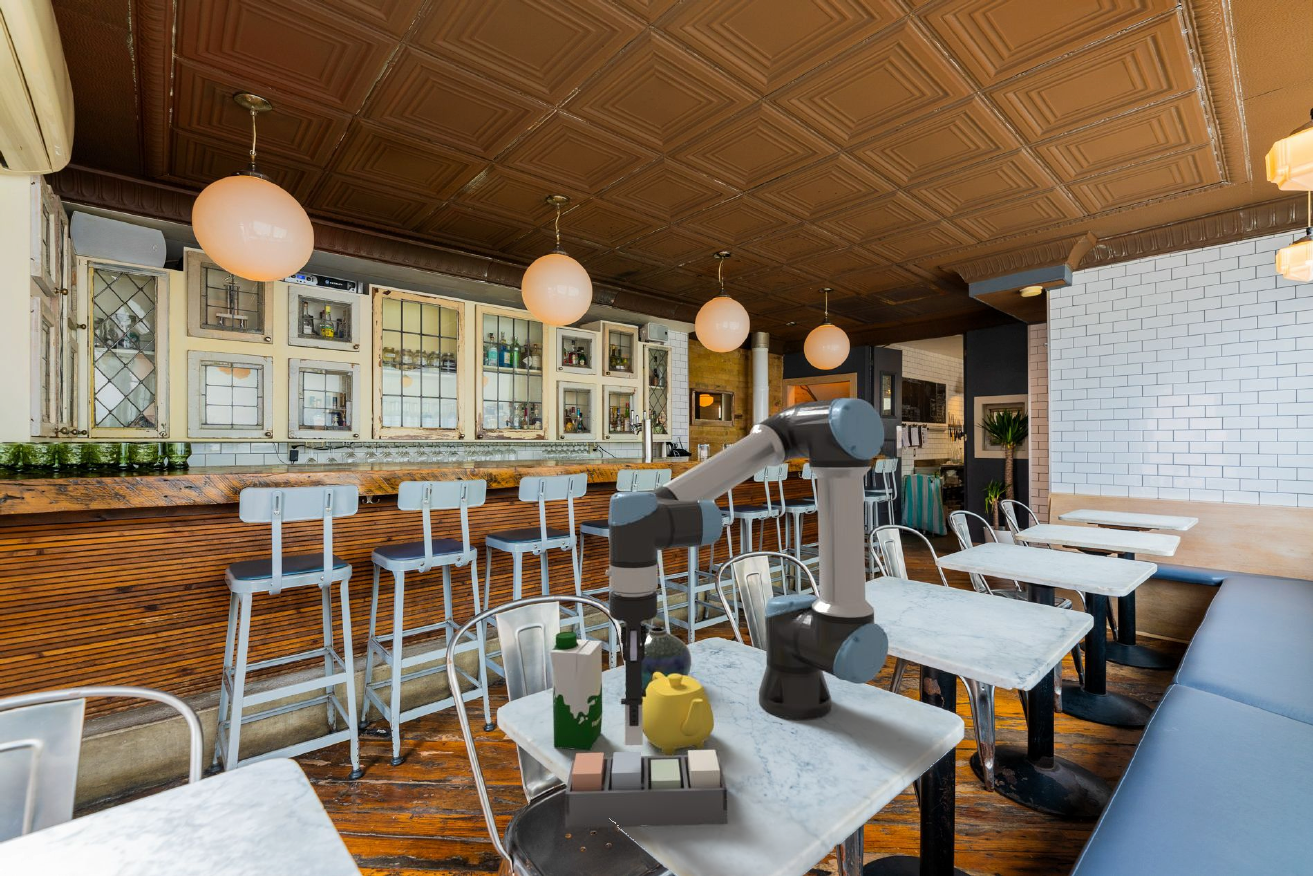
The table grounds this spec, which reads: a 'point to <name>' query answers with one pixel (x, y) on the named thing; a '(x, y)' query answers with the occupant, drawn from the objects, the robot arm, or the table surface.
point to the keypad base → (646, 801)
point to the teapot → (676, 713)
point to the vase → (664, 655)
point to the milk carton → (576, 691)
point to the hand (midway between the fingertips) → (634, 742)
